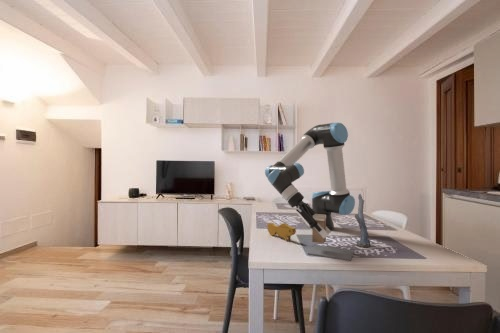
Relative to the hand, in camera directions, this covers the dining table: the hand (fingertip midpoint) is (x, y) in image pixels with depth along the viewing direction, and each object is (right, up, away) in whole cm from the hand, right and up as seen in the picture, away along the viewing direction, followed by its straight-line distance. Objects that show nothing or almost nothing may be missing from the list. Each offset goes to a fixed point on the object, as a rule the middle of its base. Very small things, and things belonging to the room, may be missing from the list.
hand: (327, 235), depth 125 cm
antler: (+21, -8, +15) cm, 27 cm away
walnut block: (-3, -3, +2) cm, 5 cm away
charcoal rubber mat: (+2, -8, +1) cm, 8 cm away
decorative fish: (-18, -8, +25) cm, 32 cm away
